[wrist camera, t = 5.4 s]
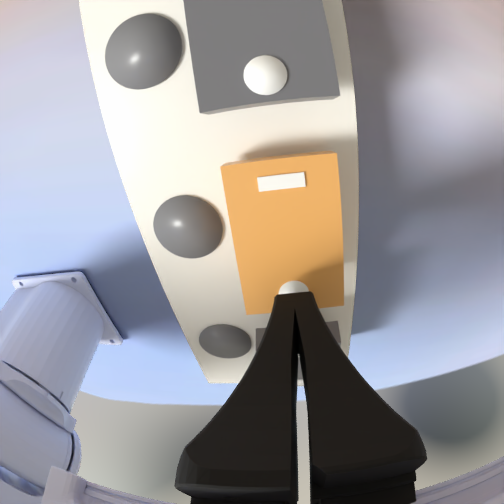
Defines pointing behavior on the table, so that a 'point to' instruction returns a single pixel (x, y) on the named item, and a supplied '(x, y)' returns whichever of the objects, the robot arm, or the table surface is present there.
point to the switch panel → (208, 167)
